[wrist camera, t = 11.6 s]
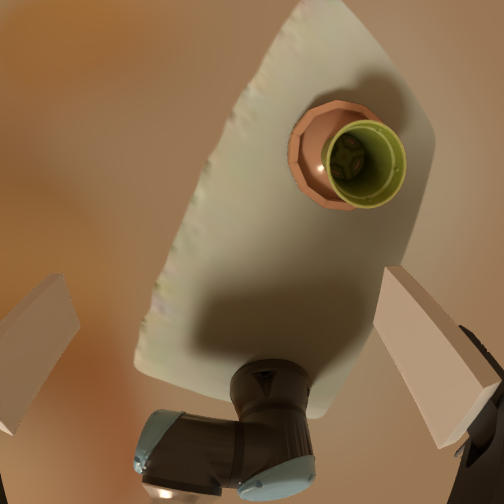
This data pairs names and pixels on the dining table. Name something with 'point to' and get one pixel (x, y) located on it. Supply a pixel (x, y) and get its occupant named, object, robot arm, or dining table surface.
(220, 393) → the dining table surface
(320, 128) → the terracotta plant saucer
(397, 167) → the plant pot
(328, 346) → the dining table surface
